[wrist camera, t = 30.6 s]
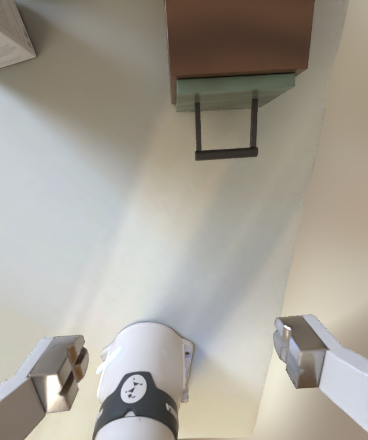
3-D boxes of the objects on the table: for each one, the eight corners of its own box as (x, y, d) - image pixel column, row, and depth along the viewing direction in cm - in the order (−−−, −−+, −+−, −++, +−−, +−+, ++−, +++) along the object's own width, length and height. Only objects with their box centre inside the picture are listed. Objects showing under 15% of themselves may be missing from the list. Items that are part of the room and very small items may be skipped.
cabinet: (262, 99, 28) (307, 68, 19) (171, 104, 28) (170, 75, 18) (269, -37, 24) (332, -168, 14) (161, -33, 24) (153, -164, 14)
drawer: (258, 156, 30) (288, 155, 22) (179, 161, 29) (181, 162, 22) (266, -18, 24) (312, -107, 16) (168, -14, 24) (165, -102, 16)
